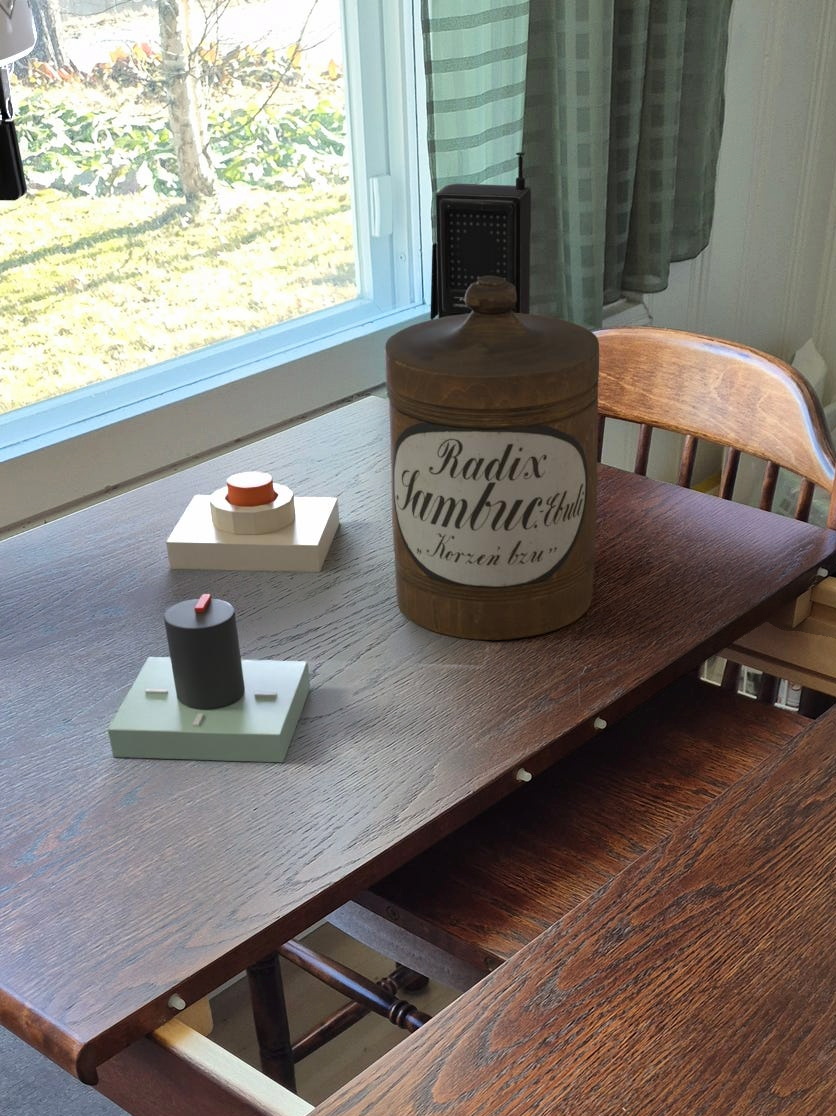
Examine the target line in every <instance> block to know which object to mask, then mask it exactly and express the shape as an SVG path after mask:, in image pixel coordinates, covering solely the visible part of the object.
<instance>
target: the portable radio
mask: <svg viewBox="0 0 836 1116" xmlns="http://www.w3.org/2000/svg"><path fill="white" fill-rule="evenodd" d="M515 155H516V156H518V157H517V158H518V159H517V160H518V161H517V163H518V165H517V166H518V167H517V168H518V171H517V172H518V175H517V176H518V177H516V178H515V185H511V184H509V185H508V184H483V183H482V184H481V183H480V184H479V183H452V184H447V185H444V186H443V187H442V188H441V189H440V190H438V191H437V192H436V193H435V229H436V230H435V231H436V234H435V237H436V241H435V242H434V243H433V244H432V245H431V246H432V247H431V276H430V277H431V278H430V281H431V282H430V316H429V317H430V319H429V320H433V319H436V317H437V316H438V318H442V317H448V316H454V315H461V314H470V313H471V312H472V310H471V309H470V308H469V307H468V306H467V305H466V303H465V293H466V291H467V289H468V288H469V287H470V285H471V284H473V283H475V282H477V281H478V279H479V278H480V277H483V276H497V277H501V278H504V279H505V280H506V282H509V283H511V284H513V285H514V287H515V289H516V294H517V300H516V303H515V306H514V308H513V309H512V311H513V312H514V313H522V314H530V305H531V303H530V302H531V297H530V296H531V294H530V291H531V231H532V191H531V190H532V189H531V187H530V186H527V185H526V178H525V177H523V156H525V152H522V151H521V152H520V151H519V152H516V153H515Z"/></svg>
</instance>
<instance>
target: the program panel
mask: <svg viewBox="0 0 836 1116" xmlns="http://www.w3.org/2000/svg"><path fill="white" fill-rule="evenodd" d="M241 663H242V671H243V678H244V686H245V692H244V695H243V696H242V697H241V698H240V699H239V700H238V701H236V702H235V703H233V704H230V705H228V706H224V707H220V708H214V709H197V708H192V707H188V706H186V705H184V704H182V703H181V702H180V701H179V700H178V698H177V695H176V689H175V683H174V677H173V671H172V664H171V658H170V657H155V656H148V657H147V658H146V660H145V662H144V663H143V665H142V667H141V669H140V670H139V673H138V674H137V676H136V678H135V680H134V681H133V683H132V684H131V687H130V688H129V690H128V692H127V694H126V696H125V698H124V700H123V701H122V703H121V705H120V706H119V708H118V710H117V712H116V714H115V716H114V717H113V719H112V721H111V722H110V724H109V726H108V728H107V733H108V739H109V744H110V749H111V753H112V757H114V758H129V759H131V758H133V759H159V760H160V759H162V760H163V759H165V760H192V761H193V760H195V761H223V762H224V761H225V762H226V761H227V762H254V763H255V762H258V763H284V761H285V758H286V756H287V753H288V750H289V747H290V744H291V742H292V739H293V738H294V734H295V731H296V728H297V725H298V723H299V720H300V717H301V715H302V712H303V709H304V706H305V704H306V700H307V698H308V696H309V692H310V690H311V682H310V681H311V680H310V671H309V662H308V661H302V660H301V661H298V660H267V659H266V660H265V659H259V660H258V659H241Z"/></svg>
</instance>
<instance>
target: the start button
mask: <svg viewBox="0 0 836 1116" xmlns="http://www.w3.org/2000/svg"><path fill="white" fill-rule="evenodd" d="M273 483H274V479H273V476H272V475H270V474H269V473H267V472H263V471H252V470H251V471H242V472H238V473H235V474H232V475H230V476H229V477H228V478H227V479H226V486H227V488H228V496H229V503H230V504H232V505H235V506H239V507H255V506H260V505H266V504H268V503H271V502H273V501H275V497H274V487H273Z"/></svg>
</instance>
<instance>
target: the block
mask: <svg viewBox="0 0 836 1116" xmlns="http://www.w3.org/2000/svg"><path fill="white" fill-rule="evenodd" d="M273 487H274V497H275V501H273V502H271V503H268V504H266V505H260V506H255V507H239V506H235V505H232V504H230V503H229V496H228V488H227V485H226V486H224V487H222V488H220V489H217V490H215V491H214V492H213V493H212V494H194V496H193V498H192V499H191V500H190V503H189V504H188V506H187V508H186V509H185V511H184V513H183V514H182V515H181V517H180V519H179V520H178V522H177V523H176V525H175V527H174V528H173V530H172V532H171V533H170V535H169V537H168V538H167V540H166V541H165V545H166V546H165V547H166V552H167V559H168V564H169V569H170V570H206V571H207V570H211V571H213V570H214V571H250V572H252V571H253V572H257V571H258V572H293V573H295V572H298V573H299V572H300V573H321V571H322V568H323V566H324V563H325V560H326V559H327V556H328V553H329V551H330V548H331V546H332V544H333V541H334V538H335V536H336V533H337V530H338V528H339V526H340V523H341V522H340V512H339V511H340V510H339V499H338V497H323V496H322V497H320V496H319V497H318V496H317V497H316V496H308V497H307V496H295V493H294V492H293V491H292V490H291V489H290V488H289V487H288V486H286V485H283V484H278V483H274V482H273Z"/></svg>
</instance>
